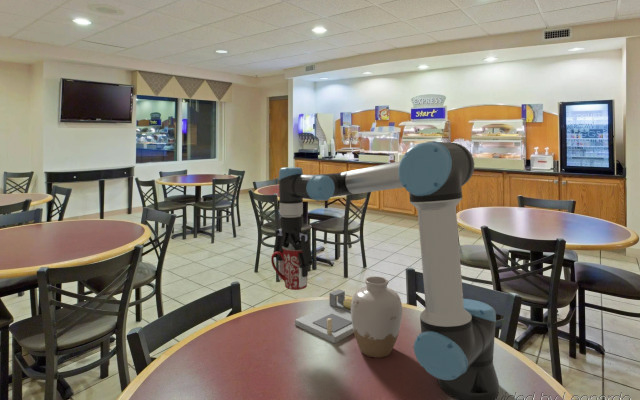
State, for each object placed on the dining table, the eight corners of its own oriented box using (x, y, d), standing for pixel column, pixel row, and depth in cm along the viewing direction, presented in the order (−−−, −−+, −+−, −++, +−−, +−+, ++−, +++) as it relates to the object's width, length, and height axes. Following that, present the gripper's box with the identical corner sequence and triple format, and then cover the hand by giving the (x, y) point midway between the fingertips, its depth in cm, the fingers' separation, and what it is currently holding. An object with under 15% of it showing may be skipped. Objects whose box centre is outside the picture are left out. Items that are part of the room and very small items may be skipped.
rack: (376, 320, 141) (376, 302, 140) (334, 343, 124) (334, 322, 123) (338, 305, 154) (338, 289, 153) (295, 324, 137) (294, 306, 136)
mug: (310, 281, 131) (310, 243, 129) (309, 291, 122) (308, 250, 120) (274, 281, 131) (273, 243, 129) (270, 291, 122) (268, 250, 120)
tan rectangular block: (362, 311, 143) (362, 303, 143) (357, 314, 141) (357, 305, 141) (348, 306, 148) (348, 298, 148) (343, 308, 146) (343, 300, 146)
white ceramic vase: (362, 333, 131) (363, 269, 128) (407, 345, 123) (409, 277, 120) (341, 354, 118) (342, 283, 115) (390, 369, 110) (392, 293, 107)
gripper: (324, 217, 118) (324, 287, 121) (278, 210, 133) (279, 272, 136) (306, 221, 113) (307, 293, 116) (261, 213, 128) (262, 277, 131)
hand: (292, 282), depth 126 cm, fingers closed on mug, 9 cm apart
